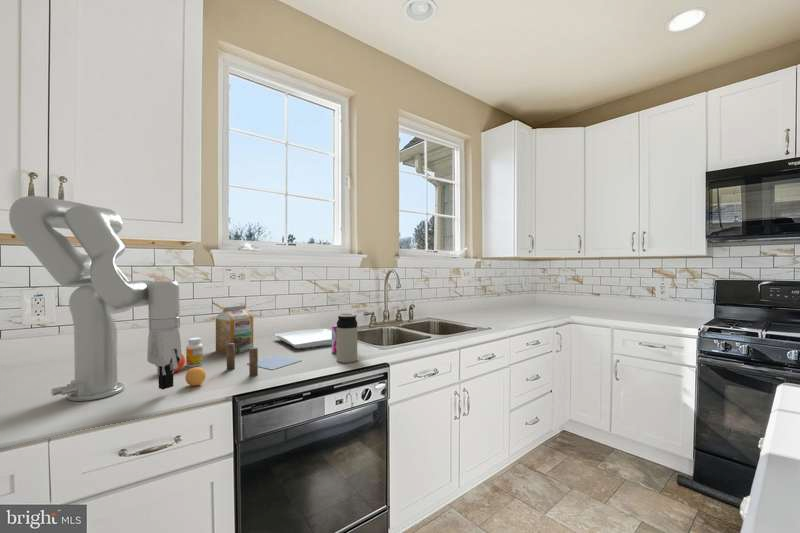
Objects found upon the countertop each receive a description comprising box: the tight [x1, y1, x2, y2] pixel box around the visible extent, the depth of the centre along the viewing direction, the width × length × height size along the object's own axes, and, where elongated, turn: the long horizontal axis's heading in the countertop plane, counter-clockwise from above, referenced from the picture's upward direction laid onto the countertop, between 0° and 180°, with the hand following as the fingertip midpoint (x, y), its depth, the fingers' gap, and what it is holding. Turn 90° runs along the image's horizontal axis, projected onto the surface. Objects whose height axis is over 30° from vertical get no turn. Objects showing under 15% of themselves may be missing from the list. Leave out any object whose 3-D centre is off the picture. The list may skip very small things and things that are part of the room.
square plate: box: [274, 328, 332, 349], centre depth 174 cm, size 27×27×4 cm
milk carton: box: [215, 304, 254, 355], centre depth 156 cm, size 11×11×19 cm
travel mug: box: [336, 312, 358, 364], centre depth 142 cm, size 8×8×18 cm
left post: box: [226, 343, 236, 371], centre depth 130 cm, size 3×3×9 cm
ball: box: [185, 366, 206, 387], centre depth 113 cm, size 6×6×6 cm
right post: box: [248, 347, 259, 377], centre depth 123 cm, size 3×3×9 cm
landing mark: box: [246, 354, 303, 371], centre depth 138 cm, size 14×14×1 cm
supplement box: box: [331, 324, 337, 355], centre depth 154 cm, size 6×6×12 cm
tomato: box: [174, 353, 186, 373], centre depth 126 cm, size 8×7×7 cm
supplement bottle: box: [185, 337, 204, 368], centre depth 134 cm, size 5×5×10 cm
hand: (166, 387), depth 105 cm, fingers closed
